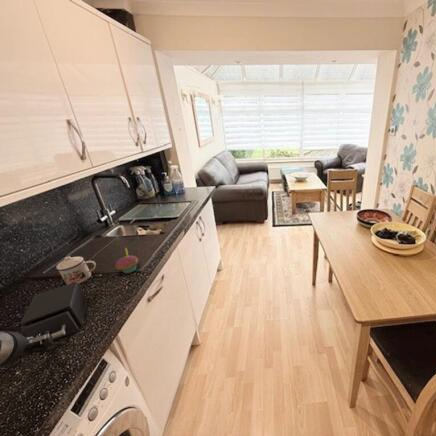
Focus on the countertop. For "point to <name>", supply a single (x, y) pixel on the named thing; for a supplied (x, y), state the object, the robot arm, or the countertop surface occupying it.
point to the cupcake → (127, 263)
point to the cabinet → (57, 304)
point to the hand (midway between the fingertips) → (50, 345)
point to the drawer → (53, 325)
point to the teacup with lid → (74, 269)
